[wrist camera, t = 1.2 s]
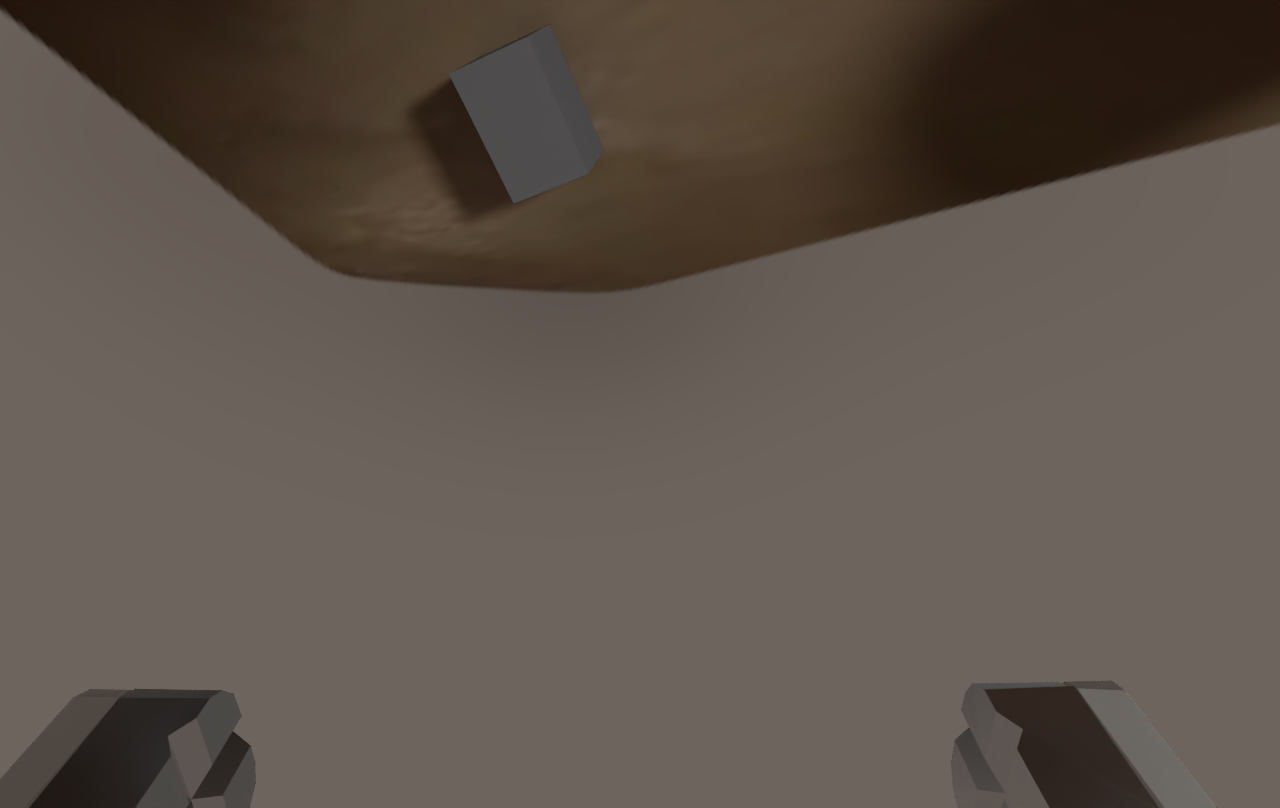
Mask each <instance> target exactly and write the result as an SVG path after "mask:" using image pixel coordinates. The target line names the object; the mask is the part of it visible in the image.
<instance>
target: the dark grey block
mask: <svg viewBox="0 0 1280 808" xmlns="http://www.w3.org/2000/svg"><path fill="white" fill-rule="evenodd" d="M449 75H450V77H451V79H452V81H453V83H454V85H455V87H456V89H457V91H458V93H459V95H460V97H461V99H462V101H463V103H464V105H465V107H466V109H467V111H468V113H469V115H470V117H471V119H472V121H473V123H474V125H475V127H476V129H477V131H478V133H479V135H480V137H481V139H482V141H483V143H484V145H485V147H486V149H487V151H488V153H489V155H490V157H491V159H492V161H493V163H494V165H495V167H496V169H497V171H498V173H499V175H500V177H501V179H502V181H503V183H504V185H505V187H506V189H507V191H508V193H509V195H510V197H511V199H512V201H513V203H517V202H519V201H522V200H524V199H527V198H529V197H532V196H534V195H537V194H539V193H542V192H544V191H547V190H549V189H552V188H554V187H557V186H559V185H562V184H564V183H567V182H569V181H572V180H574V179H577V178H579V177H582V176H584V175H587V174H589V172H590V171H591V169H592V167H593V166H594V164H595V162H596V161H597V159H598V158H599V156H600V154H601V153H602V151H603V147H602V145H601V142H600V140H599V138H598V135H597V133H596V131H595V128H594V126H593V124H592V121H591V119H590V117H589V114H588V112H587V110H586V107H585V105H584V102H583V100H582V98H581V95H580V93H579V91H578V88H577V86H576V84H575V81H574V79H573V77H572V74H571V72H570V70H569V67H568V65H567V63H566V60H565V58H564V56H563V53H562V51H561V48H560V46H559V44H558V41H557V39H556V37H555V34H554V32H553V30H552V27H551V25H550V24H549V25H547V26H545V27H542V28H540V29H538V30H536V31H534V32H532V33H530V34H528V35H526V36H523V37H521V38H519V39H517V40H515V41H513V42H511V43H509V44H507V45H504V46H502V47H500V48H498V49H496V50H494V51H492V52H490V53H487V54H485V55H483V56H481V57H479V58H477V59H475V60H473V61H471V62H470V63H468V64H466V65H464V66H462V67H460V68H458V69H457V70H455V71H453V72H451V73H449Z"/></svg>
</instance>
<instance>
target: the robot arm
mask: <svg viewBox="0 0 1280 808" xmlns="http://www.w3.org/2000/svg"><path fill="white" fill-rule="evenodd" d="M961 711H962V713H963V715H964V717H965V719H966V721H967V723H968V725H969V728H968V729H967V730H966V731H964V732H963V733H962V734H961V735H960V736H959V737H958V738H957V739H955V741H954V747H953V754H952V760H951V769H952V782H953V790H954V794H955V798H956V801H957V805H958V808H1217V807H1216V806H1215V805H1214V804H1213V802H1212V801H1211V800H1210V799H1209V797H1208V796H1207V795H1206V794H1205V792H1204V791H1203V790H1202V788H1201V787H1200V786H1199V784H1198V783H1197V782H1196V781H1195V779H1194V778H1193V777H1192V776H1191V774H1190V773H1189V772H1188V770H1187V769H1186V768H1185V766H1184V765H1183V764H1182V763H1181V761H1180V760H1179V759H1178V757H1177V756H1176V755H1175V754H1174V752H1173V751H1172V750H1171V749H1170V747H1169V746H1168V745H1167V743H1166V742H1165V741H1164V739H1163V738H1162V737H1161V736H1160V734H1159V733H1158V732H1157V730H1156V729H1155V728H1154V727H1153V725H1152V724H1151V723H1150V721H1149V720H1148V719H1147V718H1146V716H1145V715H1144V714H1143V713H1142V711H1141V710H1140V709H1139V707H1138V706H1137V705H1136V704H1135V702H1134V701H1133V700H1132V698H1131V697H1130V696H1129V695H1128V694H1127V692H1126V691H1125V690H1124V689H1123V688H1122V687H1121V686H1119V685H1118V684H1116V683H1115V682H1113V681H1076V682H1075V681H1074V682H1064V683H1060V682H1030V683H1029V682H1028V683H975V684H974V683H973V684H971V686H970V687H969V688H968V690H967V691H966V692H965V696H964V700H963V705H962V709H961ZM240 718H241V713H240V710H239V707H238V704H237V702H236V699H235V696H234V694H233V693H229V692H226V691H222V690H168V689H167V690H166V689H134V690H113V689H112V690H111V689H110V690H109V689H90V690H88V691H85V692H83V693H81V694H79V695H77V696H75V697H73V698H72V699H71V701H70V702H69V703H68V704H67V705H66V706H65V707H64V708H63V709H62V711H61V712H60V713H59V714H58V715H57V716H56V717H55V718H54V720H53V721H52V722H51V723H50V724H49V725H48V726H47V727H46V728H45V730H44V731H43V732H42V733H41V734H40V735H39V736H38V737H37V739H36V740H35V741H34V742H33V743H32V744H31V745H30V746H29V747H28V748H27V749H26V751H25V752H24V753H23V754H22V755H21V756H20V757H19V758H18V760H17V761H16V762H15V763H14V764H13V765H12V766H11V767H10V769H9V770H8V771H7V772H6V773H5V774H4V775H3V776H2V778H0V808H250V804H251V800H252V796H253V792H254V788H255V784H256V774H255V760H254V756H253V752H252V749H251V746H250V745H249V744H248V743H247V742H245V741H244V740H243V739H242V738H241V737H239V736H238V735H237V734H236V733H234V732H233V729H234V728H235V726H236V725H237V723H238V721H239V720H240Z"/></svg>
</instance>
